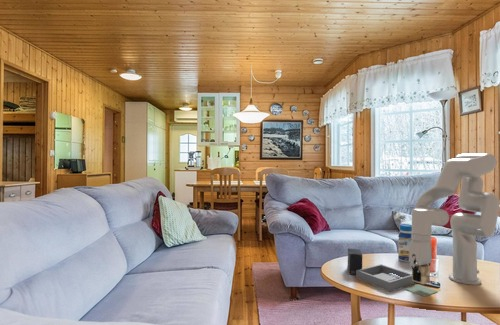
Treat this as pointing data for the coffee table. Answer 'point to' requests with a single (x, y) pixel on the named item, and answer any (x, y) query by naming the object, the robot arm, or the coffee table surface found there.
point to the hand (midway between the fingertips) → (420, 279)
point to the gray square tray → (384, 277)
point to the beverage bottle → (404, 242)
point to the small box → (354, 261)
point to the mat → (421, 290)
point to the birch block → (424, 274)
